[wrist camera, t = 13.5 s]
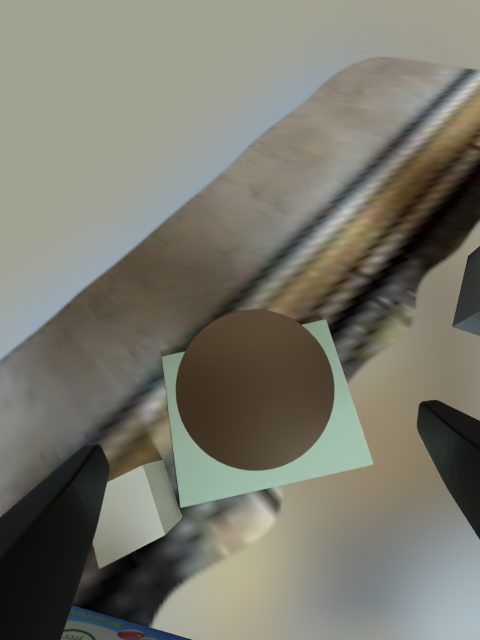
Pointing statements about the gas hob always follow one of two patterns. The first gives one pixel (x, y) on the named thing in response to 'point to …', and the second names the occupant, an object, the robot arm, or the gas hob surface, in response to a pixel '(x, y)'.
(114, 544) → the white cube
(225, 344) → the brown cylinder
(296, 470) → the tile
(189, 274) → the gas hob surface
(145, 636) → the medicine box
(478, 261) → the box
